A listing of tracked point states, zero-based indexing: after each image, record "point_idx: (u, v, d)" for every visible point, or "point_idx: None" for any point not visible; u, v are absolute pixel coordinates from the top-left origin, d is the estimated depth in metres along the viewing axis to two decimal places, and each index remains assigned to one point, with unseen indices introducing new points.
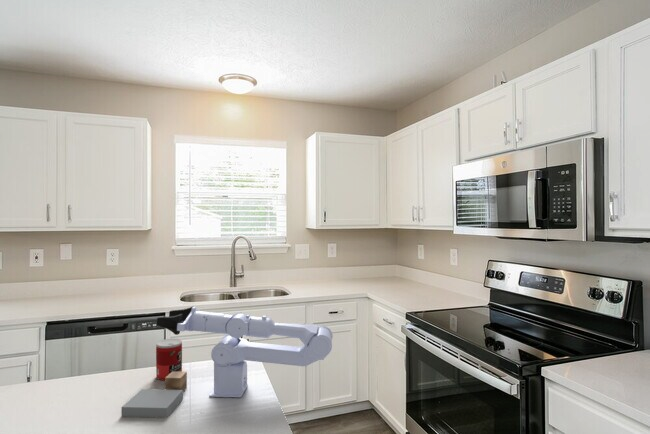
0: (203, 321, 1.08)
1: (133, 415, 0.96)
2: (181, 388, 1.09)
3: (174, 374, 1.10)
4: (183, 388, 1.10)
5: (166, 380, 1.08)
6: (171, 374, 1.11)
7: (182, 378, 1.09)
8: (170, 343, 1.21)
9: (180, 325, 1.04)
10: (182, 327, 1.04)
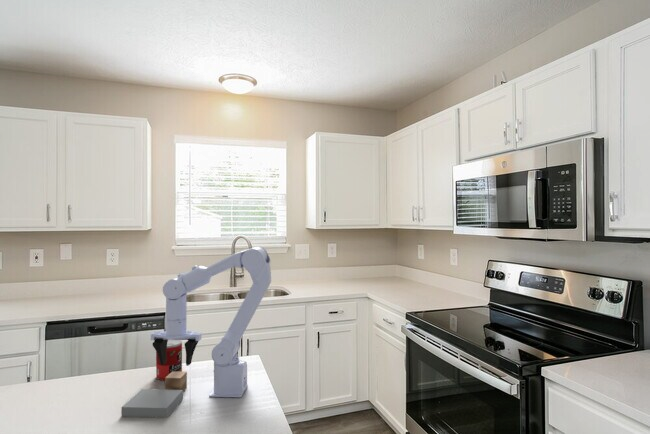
0: (183, 321, 1.10)
1: (133, 415, 0.96)
2: (181, 388, 1.09)
3: (174, 374, 1.10)
4: (183, 388, 1.10)
5: (166, 380, 1.08)
6: (171, 374, 1.11)
7: (182, 378, 1.09)
8: (170, 343, 1.21)
9: (199, 337, 1.10)
10: (200, 334, 1.10)
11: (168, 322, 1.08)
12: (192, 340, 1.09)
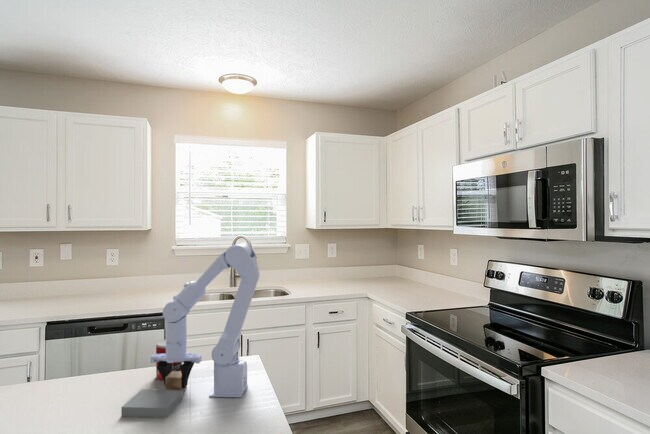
0: (183, 343, 1.10)
1: (133, 415, 0.96)
2: (181, 388, 1.09)
3: (174, 374, 1.10)
4: (183, 388, 1.10)
5: (166, 380, 1.08)
6: (171, 374, 1.11)
7: None
8: None
9: (199, 359, 1.10)
10: (200, 357, 1.10)
11: (168, 345, 1.08)
12: (188, 362, 1.10)
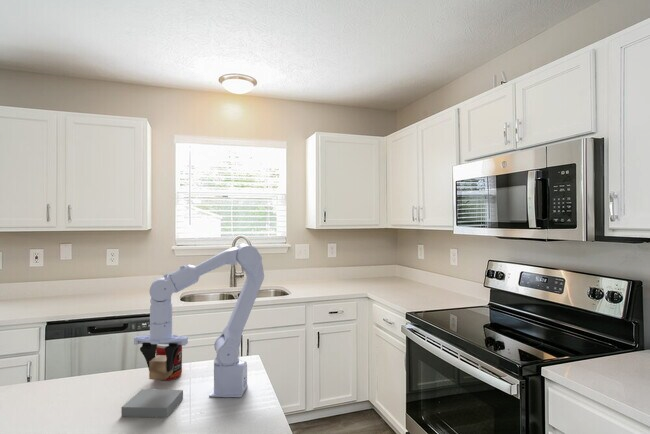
0: (169, 324, 1.03)
1: (133, 415, 0.96)
2: (166, 372, 1.03)
3: (159, 358, 1.04)
4: (168, 373, 1.04)
5: (150, 363, 1.02)
6: (156, 358, 1.05)
7: None
8: None
9: (185, 341, 1.03)
10: (186, 339, 1.04)
11: (152, 325, 1.02)
12: (173, 344, 1.03)
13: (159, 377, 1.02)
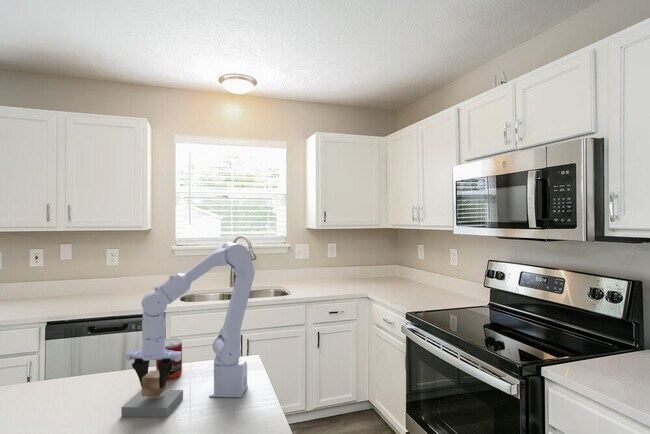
0: (162, 339, 1.00)
1: (133, 415, 0.96)
2: (159, 389, 1.00)
3: (152, 374, 1.01)
4: (162, 389, 1.01)
5: (143, 380, 0.99)
6: (149, 374, 1.02)
7: None
8: (170, 343, 1.21)
9: (178, 357, 1.00)
10: (179, 354, 1.01)
11: (144, 341, 0.99)
12: (166, 360, 1.00)
13: (152, 394, 0.99)
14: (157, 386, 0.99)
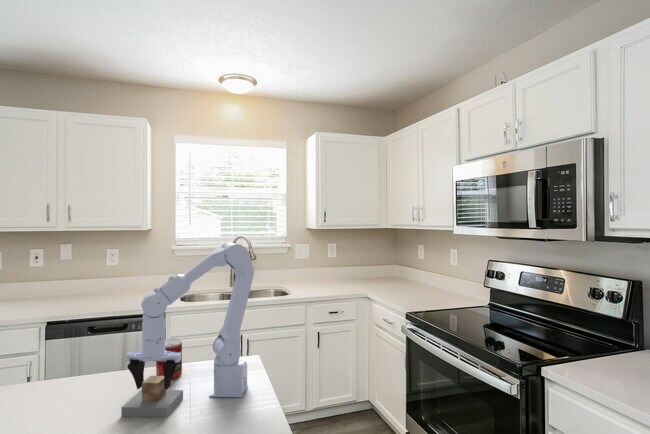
0: (162, 340, 1.00)
1: (133, 415, 0.96)
2: (159, 394, 1.00)
3: (152, 379, 1.01)
4: (162, 394, 1.01)
5: (143, 385, 0.99)
6: (149, 379, 1.02)
7: (160, 383, 1.00)
8: (170, 343, 1.21)
9: (178, 358, 1.00)
10: (179, 355, 1.01)
11: (144, 342, 0.99)
12: (171, 361, 1.00)
13: (152, 399, 0.99)
14: (157, 391, 0.99)
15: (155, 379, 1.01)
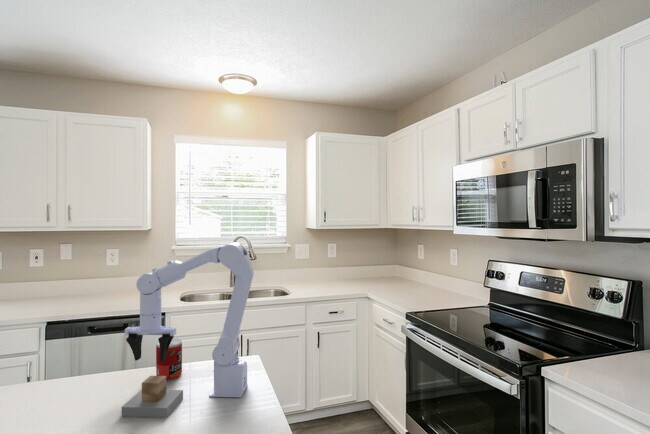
0: (158, 316, 1.08)
1: (133, 415, 0.96)
2: (159, 394, 1.00)
3: (152, 379, 1.01)
4: (162, 394, 1.01)
5: (143, 385, 0.99)
6: (149, 379, 1.02)
7: (160, 383, 1.00)
8: (170, 343, 1.21)
9: (173, 332, 1.08)
10: (174, 329, 1.09)
11: (142, 317, 1.07)
12: (166, 335, 1.08)
13: (152, 399, 0.99)
14: (157, 391, 0.99)
15: (155, 379, 1.01)
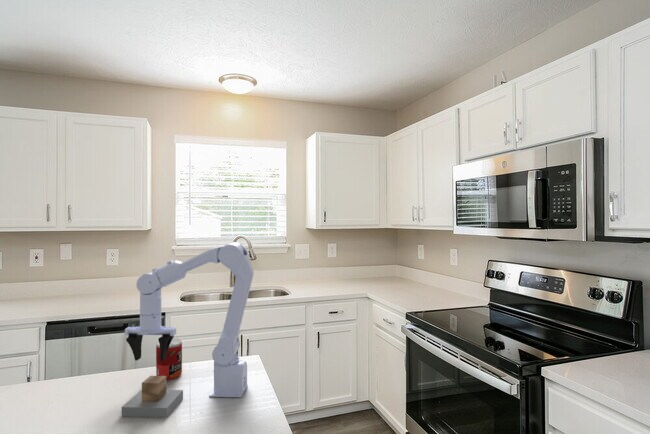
0: (158, 316, 1.08)
1: (133, 415, 0.96)
2: (159, 394, 1.00)
3: (152, 379, 1.01)
4: (162, 394, 1.01)
5: (143, 385, 0.99)
6: (149, 379, 1.02)
7: (160, 383, 1.00)
8: (170, 343, 1.21)
9: (173, 332, 1.08)
10: (174, 329, 1.09)
11: (142, 317, 1.07)
12: (166, 335, 1.08)
13: (152, 399, 0.99)
14: (157, 391, 0.99)
15: (155, 379, 1.01)
